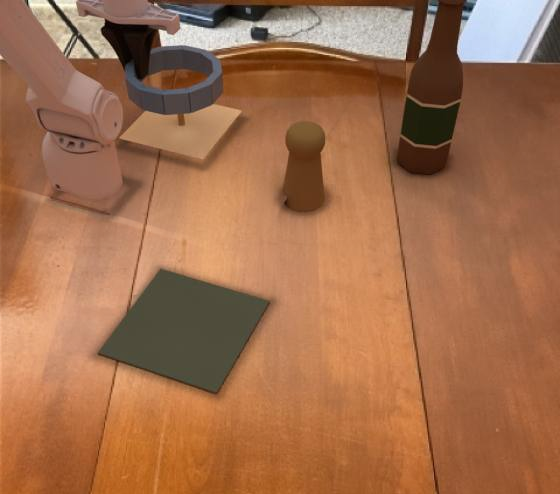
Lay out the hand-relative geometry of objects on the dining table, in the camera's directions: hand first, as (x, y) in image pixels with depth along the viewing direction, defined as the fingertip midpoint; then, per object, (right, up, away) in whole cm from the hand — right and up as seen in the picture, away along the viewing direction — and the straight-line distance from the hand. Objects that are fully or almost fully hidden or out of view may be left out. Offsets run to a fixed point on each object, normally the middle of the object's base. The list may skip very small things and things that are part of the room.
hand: (137, 74), depth 97 cm
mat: (+9, -37, -17) cm, 42 cm away
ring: (+6, -2, -1) cm, 6 cm away
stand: (+5, -5, +8) cm, 11 cm away
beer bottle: (+41, -11, +4) cm, 43 cm away
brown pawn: (+24, -18, -1) cm, 30 cm away
